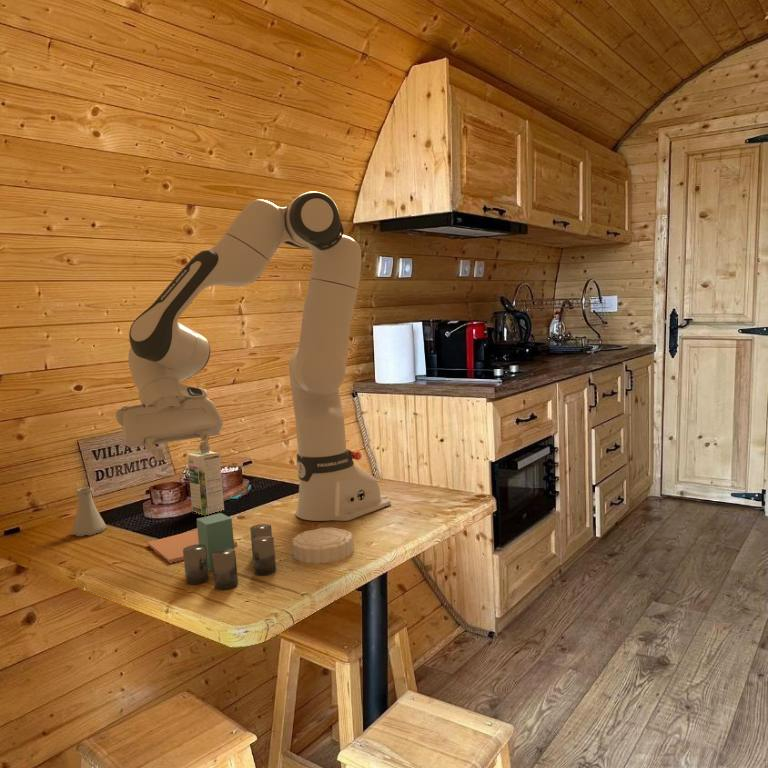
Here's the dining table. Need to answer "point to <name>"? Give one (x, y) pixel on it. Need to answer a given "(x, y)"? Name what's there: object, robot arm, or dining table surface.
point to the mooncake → (322, 545)
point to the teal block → (215, 534)
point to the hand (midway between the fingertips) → (183, 455)
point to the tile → (175, 545)
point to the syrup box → (205, 482)
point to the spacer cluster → (230, 560)
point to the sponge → (240, 494)
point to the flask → (87, 515)
